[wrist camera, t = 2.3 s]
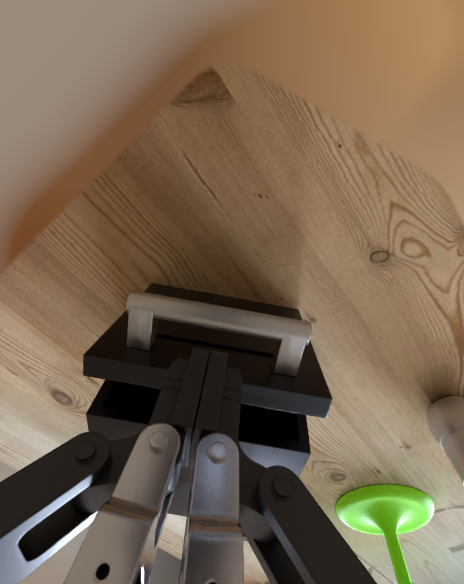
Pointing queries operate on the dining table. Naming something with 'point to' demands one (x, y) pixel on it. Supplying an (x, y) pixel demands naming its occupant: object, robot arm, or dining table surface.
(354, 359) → the dining table surface
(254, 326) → the oven door
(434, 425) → the silver bottle
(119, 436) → the oven
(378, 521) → the wineglass
